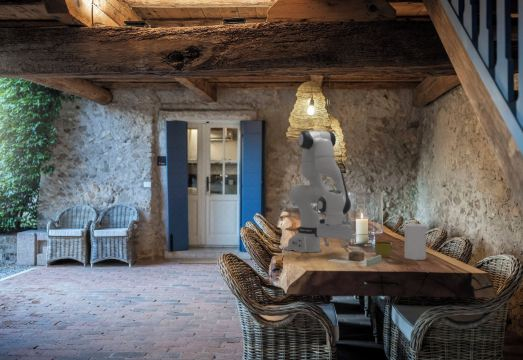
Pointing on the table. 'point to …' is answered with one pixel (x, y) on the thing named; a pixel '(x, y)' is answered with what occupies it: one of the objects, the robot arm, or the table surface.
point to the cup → (415, 241)
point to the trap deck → (367, 261)
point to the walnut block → (356, 256)
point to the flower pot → (383, 249)
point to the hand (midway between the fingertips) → (335, 247)
